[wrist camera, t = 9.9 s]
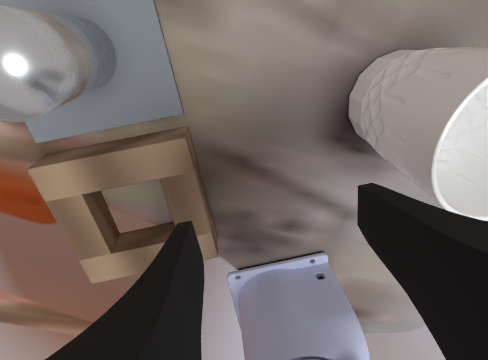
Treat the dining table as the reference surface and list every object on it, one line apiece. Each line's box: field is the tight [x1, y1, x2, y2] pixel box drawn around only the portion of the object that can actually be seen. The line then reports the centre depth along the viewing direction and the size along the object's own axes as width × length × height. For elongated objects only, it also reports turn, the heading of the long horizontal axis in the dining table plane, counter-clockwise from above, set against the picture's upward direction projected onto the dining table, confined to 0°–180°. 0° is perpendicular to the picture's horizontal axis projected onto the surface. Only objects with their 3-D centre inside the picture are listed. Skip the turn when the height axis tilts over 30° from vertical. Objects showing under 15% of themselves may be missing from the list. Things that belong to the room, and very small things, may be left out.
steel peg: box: [0, 5, 116, 122], centre depth 14 cm, size 4×4×8 cm
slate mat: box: [0, 0, 184, 143], centre depth 18 cm, size 10×10×1 cm
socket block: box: [27, 127, 218, 284], centre depth 22 cm, size 10×10×2 cm
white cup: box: [349, 47, 488, 221], centre depth 17 cm, size 8×8×10 cm
